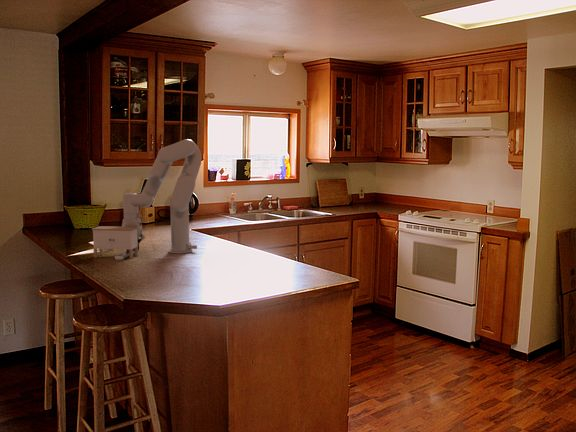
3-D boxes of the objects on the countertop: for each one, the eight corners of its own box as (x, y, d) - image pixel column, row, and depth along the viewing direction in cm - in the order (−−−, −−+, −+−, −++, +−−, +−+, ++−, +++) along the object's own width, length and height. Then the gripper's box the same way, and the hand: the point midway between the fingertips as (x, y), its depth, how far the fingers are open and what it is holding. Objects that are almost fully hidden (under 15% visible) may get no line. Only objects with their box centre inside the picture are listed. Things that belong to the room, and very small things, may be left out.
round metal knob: (125, 259, 287) (125, 255, 287) (121, 260, 283) (121, 256, 283) (116, 258, 288) (116, 254, 288) (113, 260, 284) (113, 256, 283)
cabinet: (138, 255, 297) (138, 226, 295) (131, 258, 288) (131, 229, 286) (100, 254, 299) (99, 226, 298) (92, 257, 290) (91, 228, 288)
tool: (137, 251, 304) (137, 238, 303) (125, 257, 287) (124, 244, 287) (130, 251, 305) (129, 238, 304) (117, 257, 288) (116, 243, 287)
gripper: (149, 215, 303) (150, 250, 305) (118, 215, 305) (120, 249, 307) (144, 217, 295) (145, 252, 298) (113, 217, 297) (114, 252, 300)
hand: (132, 250), depth 302 cm, fingers closed on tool, 4 cm apart
